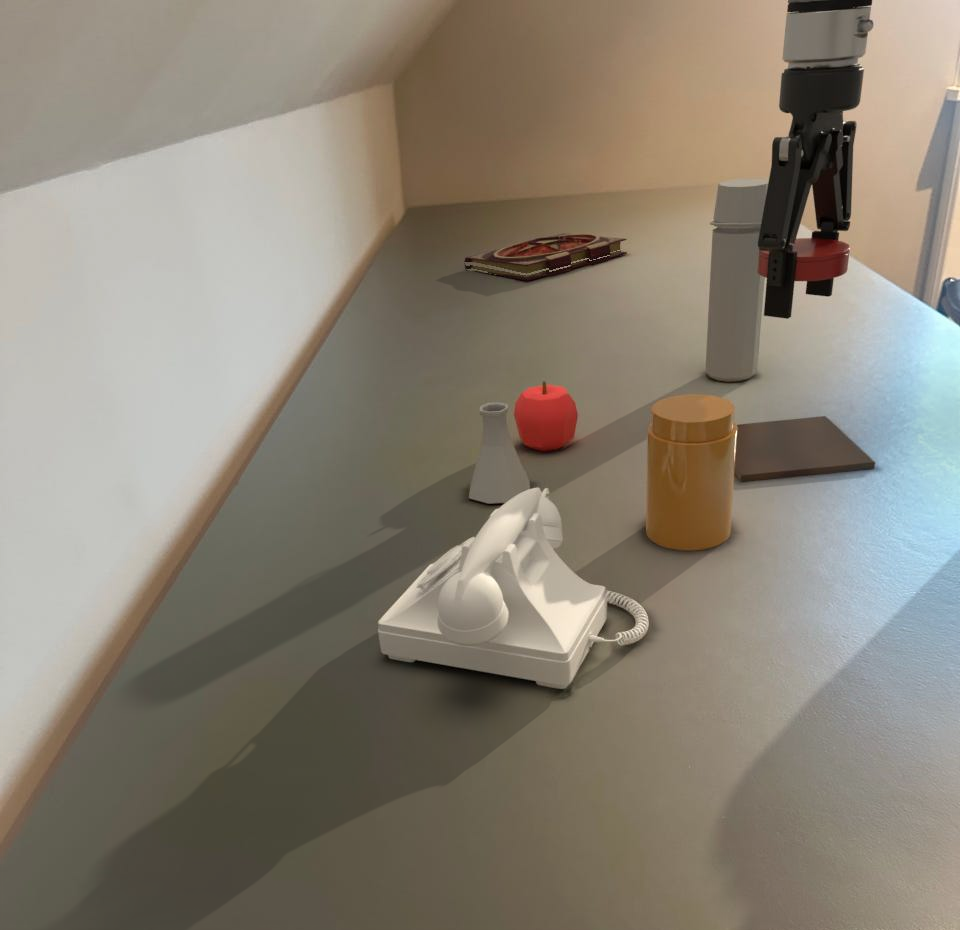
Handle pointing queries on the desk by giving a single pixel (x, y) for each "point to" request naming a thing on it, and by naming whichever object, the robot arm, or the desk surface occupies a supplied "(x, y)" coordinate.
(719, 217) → the water bottle
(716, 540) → the jar
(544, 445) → the apple
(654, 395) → the desk surface
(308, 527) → the desk surface
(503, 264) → the book
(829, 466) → the pad
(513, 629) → the telephone
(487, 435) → the flask
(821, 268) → the lid
